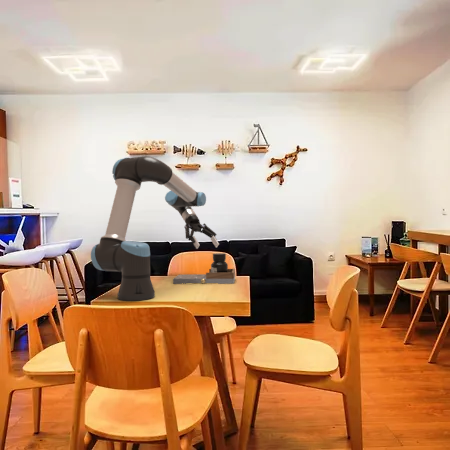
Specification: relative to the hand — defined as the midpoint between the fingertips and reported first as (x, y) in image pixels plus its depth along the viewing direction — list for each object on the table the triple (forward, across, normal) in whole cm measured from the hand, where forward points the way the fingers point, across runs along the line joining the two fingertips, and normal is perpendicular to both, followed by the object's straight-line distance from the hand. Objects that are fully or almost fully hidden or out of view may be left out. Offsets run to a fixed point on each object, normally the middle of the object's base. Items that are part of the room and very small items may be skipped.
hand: (208, 246), depth 206 cm
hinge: (+14, +4, -12) cm, 19 cm away
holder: (+16, -2, -6) cm, 18 cm away
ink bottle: (+16, -2, -6) cm, 17 cm away
